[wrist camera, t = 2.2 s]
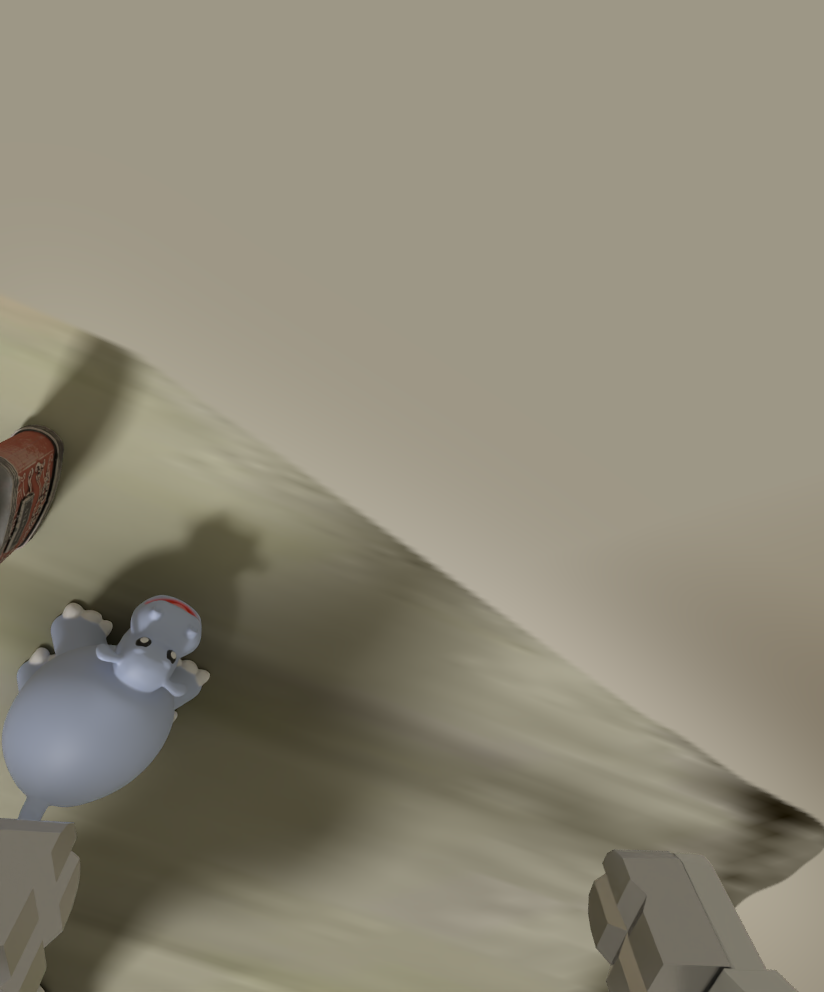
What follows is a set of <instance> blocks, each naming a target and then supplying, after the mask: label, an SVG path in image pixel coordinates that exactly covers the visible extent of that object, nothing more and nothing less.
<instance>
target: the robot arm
mask: <svg viewBox="0 0 824 992" xmlns="http://www.w3.org/2000/svg"><path fill="white" fill-rule="evenodd" d="M76 839H77V833H76V828H75V823H72V822H56V821H39V820H23V819H6V818H0V992H45V991H44V990H43V988H42V987H41V986H40V983H41V980H42V978H43V976H44V973H45V971H46V969H47V965H46V958H45V952H44V948H45V947H46V946H47V945H48V944H49V943H50V942H51V941H52V940H53V939H55V938H56V937H57V936H58V935H59V934H60V933H61V932H62V931H63V929H64V927H65V925H66V922H67V920H68V917H69V915H70V913H71V910H72V907H73V904H74V900H75V897H76V893H77V890H78V886H79V879H80V870H81V868H80V858H79V857H78V856H77V855H76V854H75V853H74V852H72V851H71V850H72V848H73V846H74V843H75V841H76ZM602 864H603V867H604V870H605V874H604V875H602V876H601V877H599V878H598V879H596V880H595V881H594V882H593V885H592V888H591V890H590V893H589V903H588V915H589V922H590V928H591V932H592V936H593V939H594V943H595V946H596V948H597V950H598V951H599V952H600V953H601V954H602V955H603V956H604V958H605V959H606V960H607V961H608V962H609V963H610V968H609V972H608V975H607V979H606V983H607V986H608V990H609V992H798V991H797V990H796V989H795V988H794V987H793V986H792V985H791V984H790V983H789V982H788V981H787V980H786V979H785V978H784V977H783V976H781V975H780V974H779V973H778V972H777V971H776V970H768V969H766V967H765V965H764V964H763V962H762V960H761V958H760V956H759V954H758V952H757V950H756V948H755V946H754V944H753V942H752V941H751V939H750V937H749V935H748V933H747V931H746V929H745V927H744V925H743V924H742V921H741V920H740V918H739V916H738V914H737V912H736V910H735V908H734V906H733V904H732V902H731V900H730V898H729V897H728V895H727V893H726V891H725V889H724V887H723V885H722V883H721V881H720V879H719V877H718V875H717V874H716V872H715V870H714V868H713V866H712V864H711V862H710V861H709V860H708V859H707V858H706V857H705V856H704V855H701V854H697V853H673V852H669V851H642V850H612V851H610V852H608V853H607V854H606V856H605V858H604V861H603V863H602Z"/></svg>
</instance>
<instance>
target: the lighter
mask: <svg viewBox="0 0 824 992" xmlns="http://www.w3.org/2000/svg"><path fill="white" fill-rule="evenodd" d="M63 451H64V447H63V442H62V440H61V438H60V437H59V436H58V435H57V434H56V433H55V432H54V431H53V430H51V429H49V428H47V427H45V426H40V425H28V426H25V427H23V428H21V429H19V430H17V431H15V432H14V433H13V434H12V435H11V437H10V438H9V439H7V440H5V441H3V442H1V443H0V563H2V562H3V561H4V560H5V559H6V558H7V557H8V556H9V555H10V554H11V553H12V552H13V551H14V550H17V549H20V548H22V547H23V546H24V545H25V544H26V543H27V542H29V541H30V540H31V539H32V537H33V536H34V534H35V533H36V531H37V530H38V528H39V526H40V525H41V523H42V522H43V520H44V519H45V517H46V514H47V512H48V510H49V508H50V506H51V503H52V501H53V499H54V497H55V493H56V490H57V486H58V482H59V478H60V474H61V468H62V459H63Z"/></svg>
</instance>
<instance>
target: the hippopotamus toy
mask: <svg viewBox="0 0 824 992" xmlns="http://www.w3.org/2000/svg"><path fill="white" fill-rule="evenodd" d="M112 627H113V625H112V623H111V622H110V621H108V620H103V619H102V615H101V614H100V613H99V612H97V611H94V610H84V609H83V608H82V607H81V606H80V605H79V604H77V603H70V604H68V605H67V606H66V607H65V609H64V611H63V614H62V615H60V616H58V617H57V618H56V619H55V620H54V622H53V623H52V626H51V636H52V640H53V645H54V650H55V654H53V655H50V653H49V651H48V650H47V649H46V648H42V647H40V648H38V649H37V650H36V651H35V652H34V654H33V655H32V656H31V658H30V659H29V660H28V661H27V662H25V663H24V664H23V665H22V666H21V667H20V669H19V670H18V673H17V682H18V689H19V693H18V695H17V696H16V698H15V700H14V701H13V703H12V705H11V707H10V709H9V712H8V714H7V717H6V719H5V723H4V727H3V733H2V747H3V754H4V759H5V762H6V765H7V768H8V770H9V772H10V775H11V776H12V778H13V780H14V782H15V783H16V785H17V786H18V788H19V789H20V790H21V791H22V792H23V793H24V794H25V795H26V796H27V799H26V801H25V803H24V805H23V807H22V809H21V811H20V814H19V817H18V819H23V820H39V821H40V819H41V818H42V816H43V814H44V812H45V811H46V809H47V807H48V806H51V805H52V806H58V807H72V806H78V805H82V804H86V803H89V802H92V801H95V800H98V799H100V798H103V797H105V796H107V795H109V794H111V793H113V792H115V791H117V790H119V789H121V788H122V787H124V786H125V785H127V784H128V783H130V782H131V781H132V780H133V779H135V778H136V777H137V776H138V775H139V774H140V773H142V772H143V771H144V770H145V769H146V768H147V766H148V765H149V764H150V763H151V762H152V761H153V760H154V758H155V757H156V756H157V754H158V753H159V751H160V750H161V748H162V747H163V745H164V743H165V741H166V739H167V737H168V735H169V733H170V730H171V727H172V723H173V722H174V721H175V720H176V718H177V716H178V714H177V712H176V711H174V710H175V709H177V708H178V707H180V706H182V705H183V704H185V703H186V702H188V701H190V700H191V699H193V698H194V697H196V696H197V695H198V693H199V692H200V690H201V687H202V685H203V684H204V683H206V682H207V681H208V679H209V678H210V674H209V672H208V671H206V670H202V669H198V668H197V665H196V664H195V663H194V662H193V661H191V660H183V661H182V660H181V659H180V658H181V657H183V656H186V655H188V654H190V653H191V652H193V651H194V650H195V649H196V648H197V647H198V645H199V643H200V640H201V630H202V624H201V618H200V616H199V614H198V613H197V612H196V611H195V610H194V609H193V608H192V607H191V606H189V605H188V604H186V603H185V602H183V601H181V600H179V599H177V598H175V597H171V596H167V595H157V596H154V597H151V598H149V599H147V600H145V601H144V602H142V603H141V604H139V605H138V606H137V607H136V608H135V610H134V612H133V614H132V617H131V628H130V629H129V630H128V631H127V632H126V633H125V634H124V635H123V637H122V638H121V640H120V642H119V644H118V645H108V644H107V640H106V637H107V636H108V635H109V634H110V632H111V630H112Z"/></svg>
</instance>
